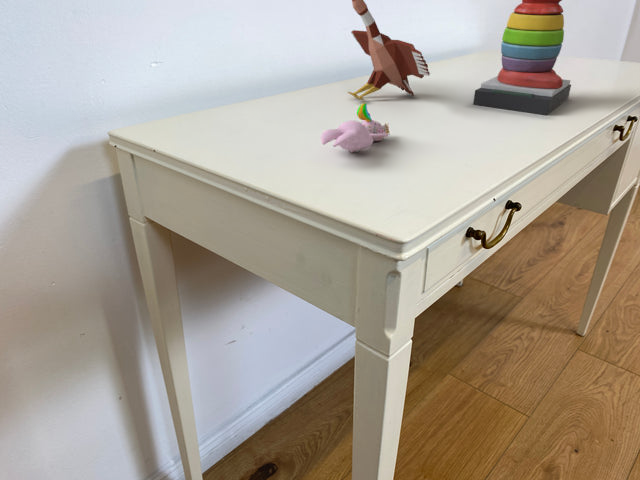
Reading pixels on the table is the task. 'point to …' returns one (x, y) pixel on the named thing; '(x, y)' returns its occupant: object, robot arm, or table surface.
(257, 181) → the table surface
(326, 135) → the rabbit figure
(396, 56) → the decorative bird
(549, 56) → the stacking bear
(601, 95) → the table surface
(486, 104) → the scale
